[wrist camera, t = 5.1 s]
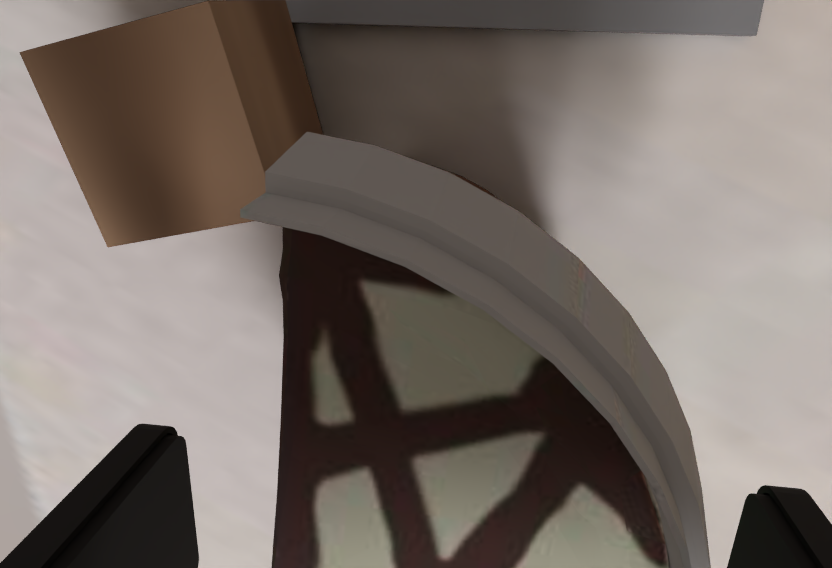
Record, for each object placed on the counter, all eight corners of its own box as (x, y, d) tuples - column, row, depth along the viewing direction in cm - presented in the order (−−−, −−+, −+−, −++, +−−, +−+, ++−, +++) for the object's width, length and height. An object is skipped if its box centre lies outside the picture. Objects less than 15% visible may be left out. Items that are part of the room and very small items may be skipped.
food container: (565, 535, 19) (625, 1003, 9) (370, 501, 19) (243, 909, 10) (660, 127, 14) (947, 240, 5) (405, 98, 15) (238, 153, 6)
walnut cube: (285, 0, 14) (207, 0, 11) (332, 166, 16) (278, 216, 12) (137, 39, 15) (19, 52, 11) (195, 193, 17) (107, 247, 13)
